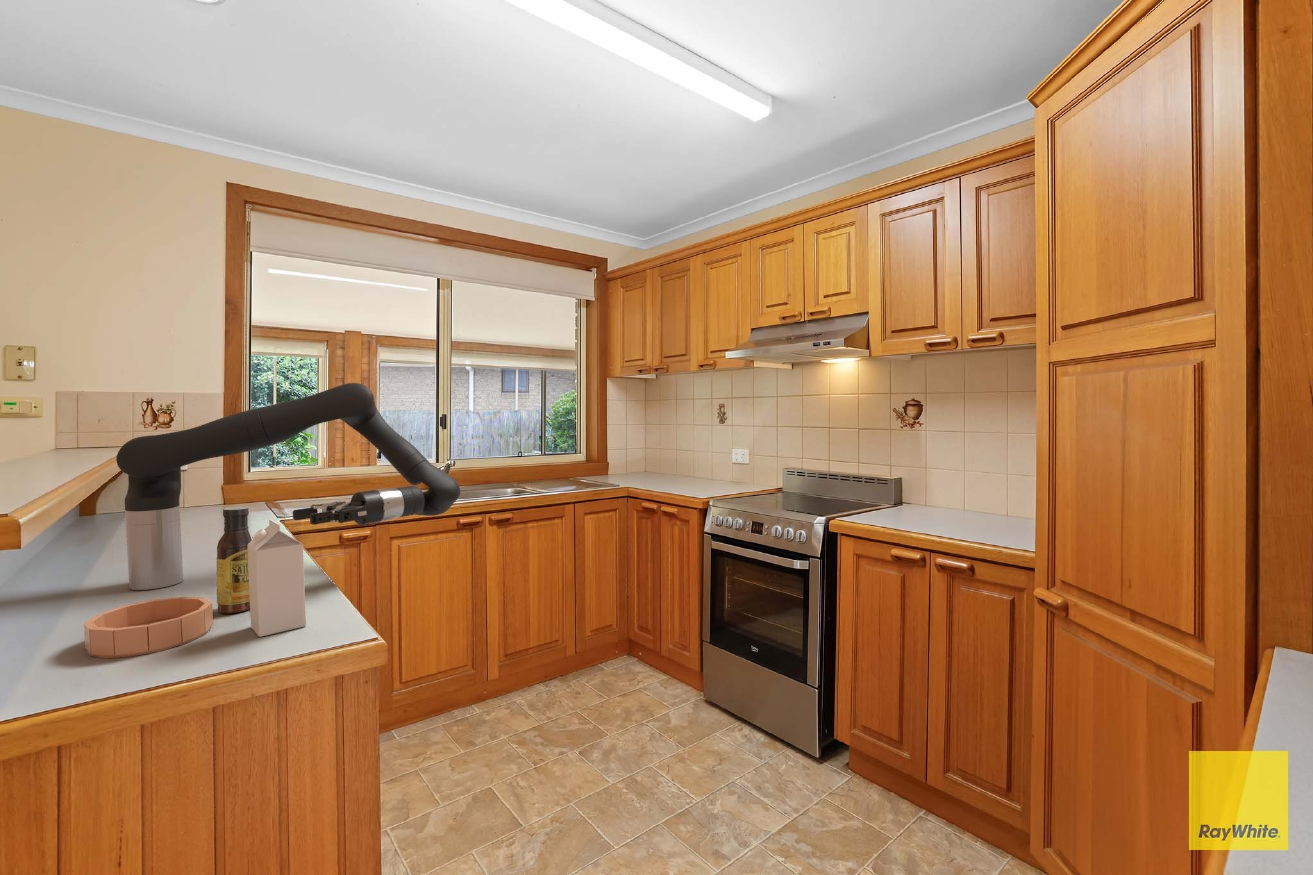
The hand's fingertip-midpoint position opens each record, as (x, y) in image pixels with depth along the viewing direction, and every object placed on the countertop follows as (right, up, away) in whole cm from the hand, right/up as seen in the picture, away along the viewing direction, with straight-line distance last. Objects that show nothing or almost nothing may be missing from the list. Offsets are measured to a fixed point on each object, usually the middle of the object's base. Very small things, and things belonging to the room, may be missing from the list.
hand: (301, 517), depth 123 cm
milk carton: (+7, -17, -18) cm, 26 cm away
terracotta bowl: (-12, -17, -23) cm, 31 cm away
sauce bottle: (-7, -17, -9) cm, 20 cm away
